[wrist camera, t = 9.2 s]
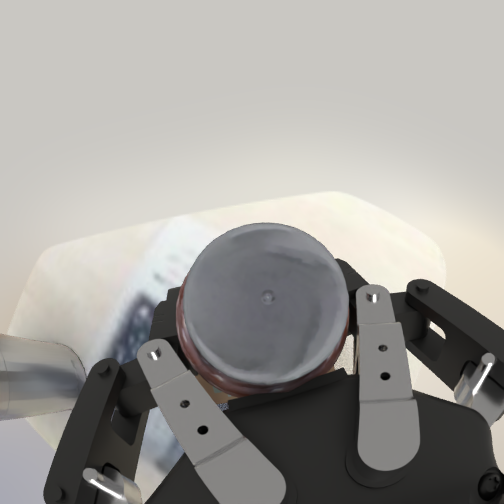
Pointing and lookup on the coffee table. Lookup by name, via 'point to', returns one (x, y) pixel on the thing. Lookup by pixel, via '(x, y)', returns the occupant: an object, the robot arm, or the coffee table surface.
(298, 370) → the supplement bottle
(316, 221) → the coffee table surface
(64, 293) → the coffee table surface
